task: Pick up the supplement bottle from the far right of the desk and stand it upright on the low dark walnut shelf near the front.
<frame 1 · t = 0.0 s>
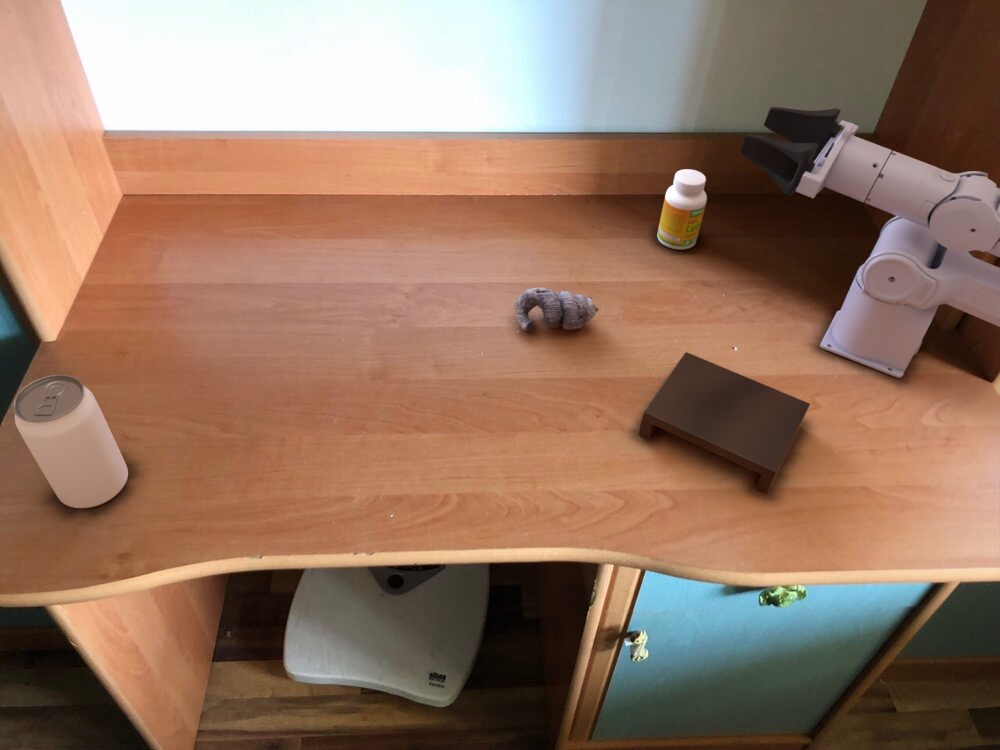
hand: (756, 129, 87), 22 cm above the table, tool horizontal, fingers open, 7 cm apart
shelf: (720, 430, 84), on the table
can: (94, 484, 76), on the table
seashell: (555, 324, 96), on the table
supplement bottle: (676, 240, 109), on the table
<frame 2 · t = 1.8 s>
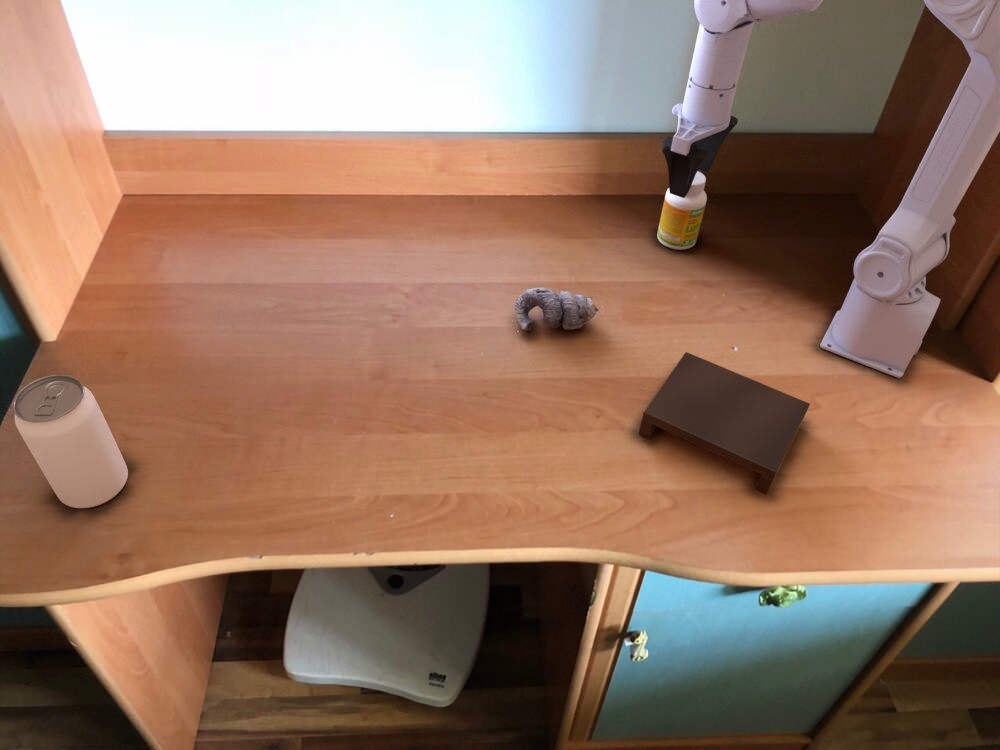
hand: (689, 181, 103), 9 cm above the table, tool pointing down, fingers open, 7 cm apart
nothing on the table moved.
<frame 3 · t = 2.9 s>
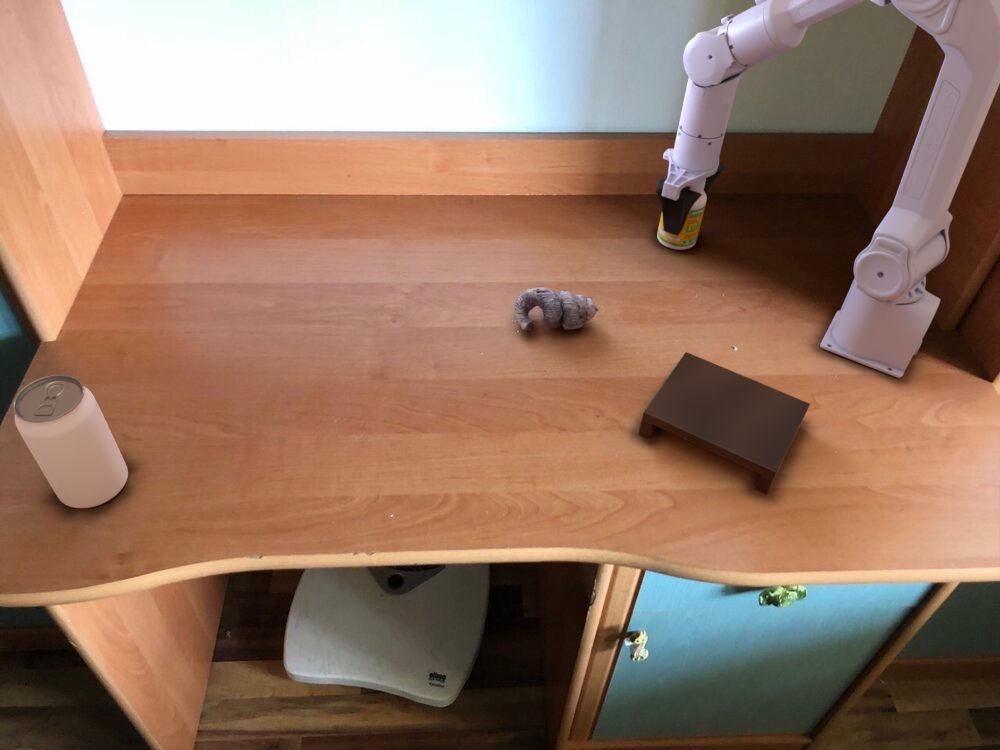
hand: (680, 221, 107), 3 cm above the table, tool pointing down, fingers closed on supplement bottle, 5 cm apart
supplement bottle: (675, 240, 109), on the table, touching gripper
everything else where it was.
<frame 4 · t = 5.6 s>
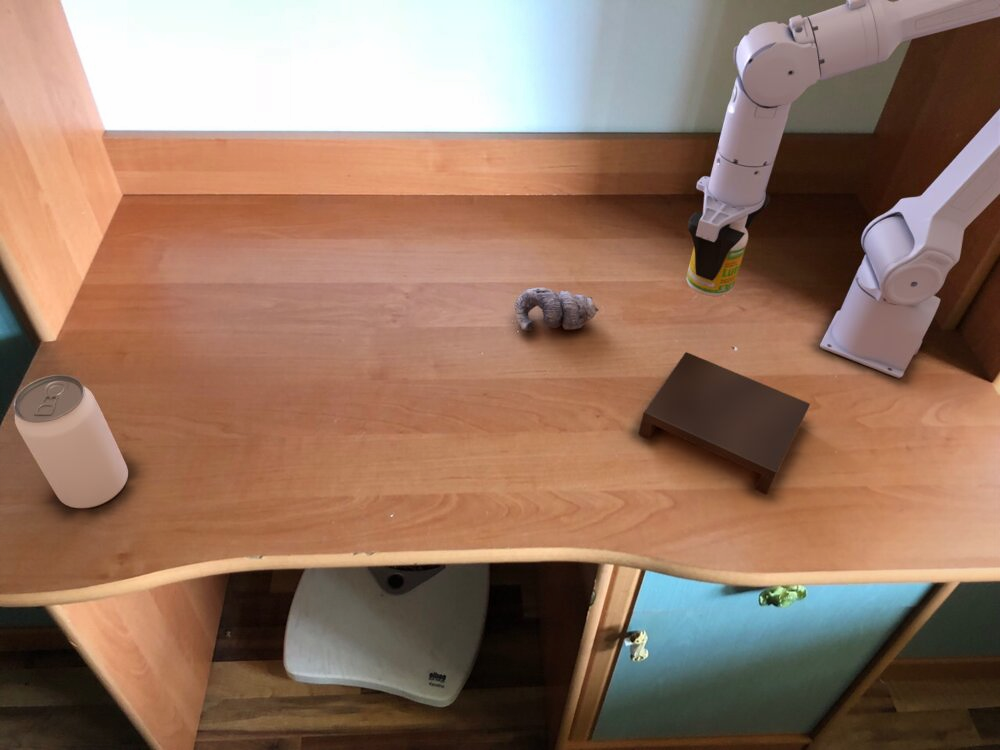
hand: (715, 262, 89), 10 cm above the table, tool pointing down, fingers closed on supplement bottle, 5 cm apart
supplement bottle: (708, 284, 91), point 7 cm above the table, touching gripper
everything else where it was.
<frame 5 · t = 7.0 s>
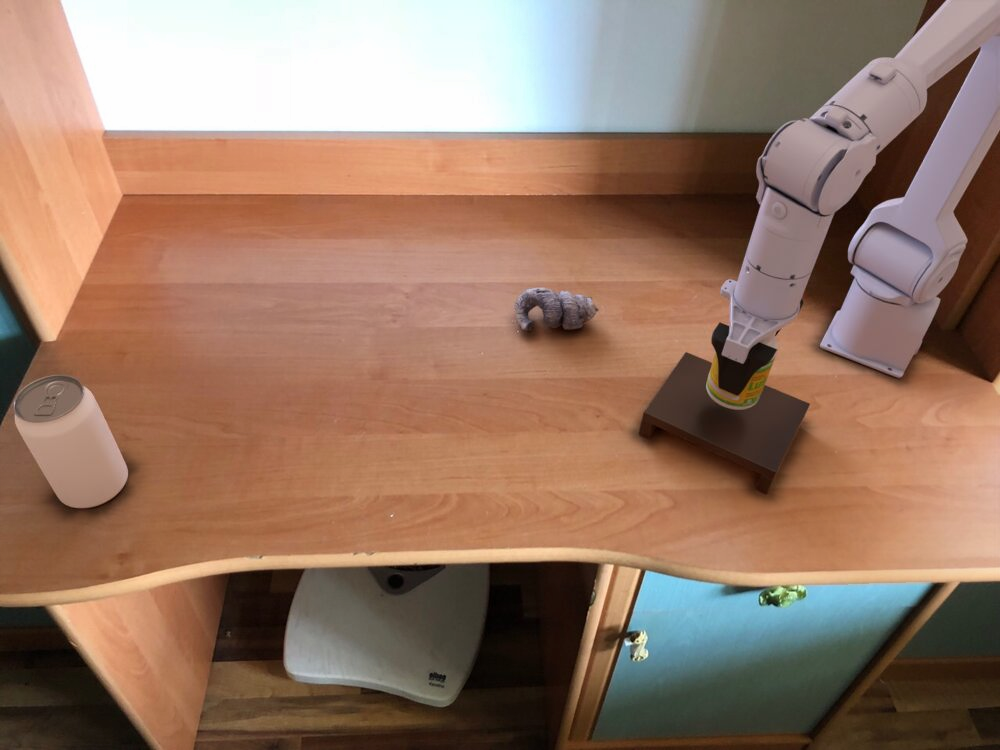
hand: (740, 371, 78), 9 cm above the table, tool pointing down, fingers closed on supplement bottle, 5 cm apart
supplement bottle: (731, 393, 80), point 6 cm above the table, touching gripper
everything else where it was.
when the fingers open (6 cm above the table, at t = 8.2 s): supplement bottle stays where it is, resting on shelf.
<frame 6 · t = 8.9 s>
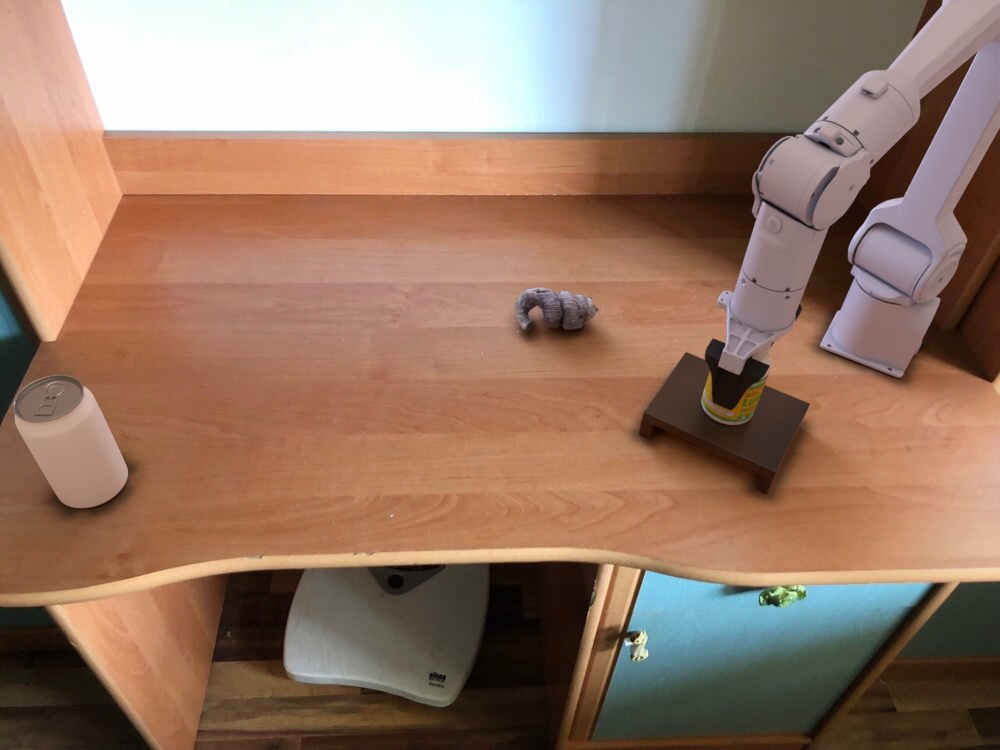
hand: (737, 381, 79), 7 cm above the table, tool pointing down, fingers open, 7 cm apart
supplement bottle: (726, 408, 82), point 3 cm above the table, touching shelf
everything else where it was.
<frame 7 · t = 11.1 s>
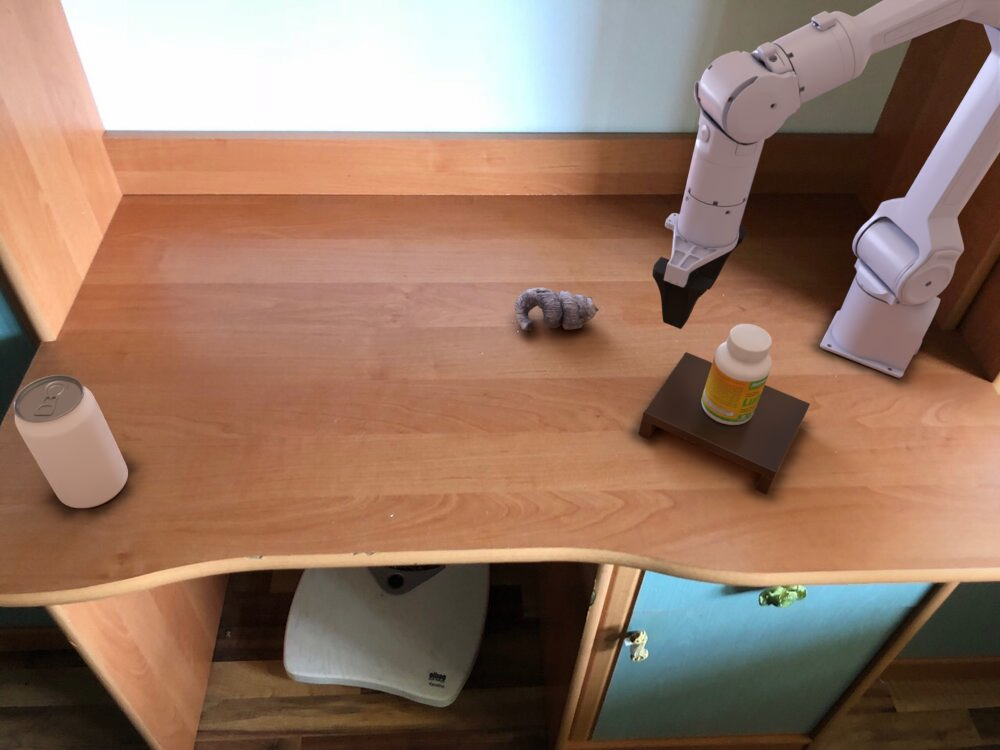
hand: (687, 304, 83), 10 cm above the table, tool pointing down, fingers open, 7 cm apart
nothing on the table moved.
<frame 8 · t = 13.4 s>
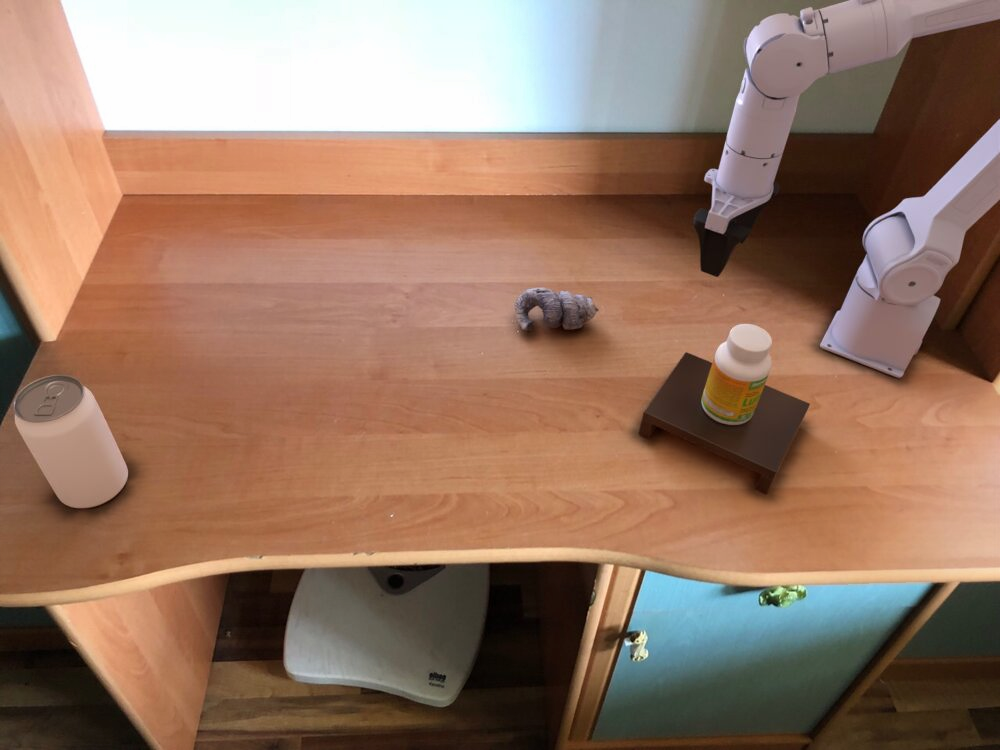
hand: (723, 255, 89), 10 cm above the table, tool pointing down, fingers open, 7 cm apart
nothing on the table moved.
at the end: supplement bottle inside the target area on the shelf (0.1 cm from its centre), point 3.3 cm above the shelf's base; supplement bottle tilted 0°; the gripper is holding nothing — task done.
